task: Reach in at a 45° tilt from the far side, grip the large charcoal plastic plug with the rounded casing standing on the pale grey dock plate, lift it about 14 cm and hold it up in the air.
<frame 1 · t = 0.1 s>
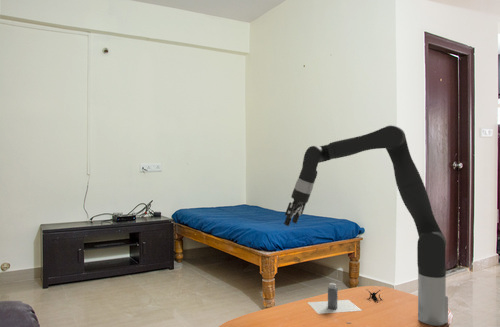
hand: (290, 223, 169), 31 cm above the table, tool tilted 20°, fingers open, 8 cm apart
dock plate: (333, 309, 152), on the table
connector: (332, 307, 151), point 1 cm above the table, touching dock plate
creature: (375, 303, 160), on the table
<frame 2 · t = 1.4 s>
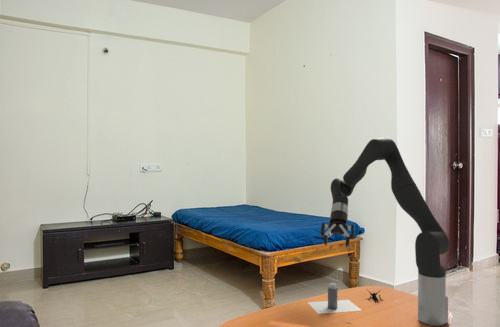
hand: (336, 245, 162), 23 cm above the table, tool tilted 45°, fingers open, 8 cm apart
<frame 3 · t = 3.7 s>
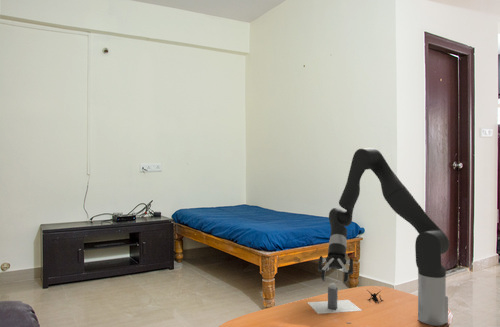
hand: (334, 281, 155), 10 cm above the table, tool tilted 45°, fingers open, 8 cm apart
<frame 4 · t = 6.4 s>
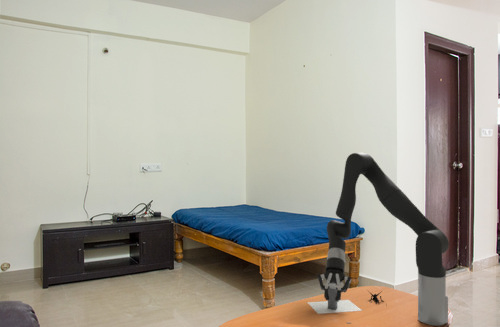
hand: (332, 299, 149), 5 cm above the table, tool tilted 45°, fingers closed on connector, 3 cm apart
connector: (332, 307, 151), point 1 cm above the table, touching dock plate, gripper
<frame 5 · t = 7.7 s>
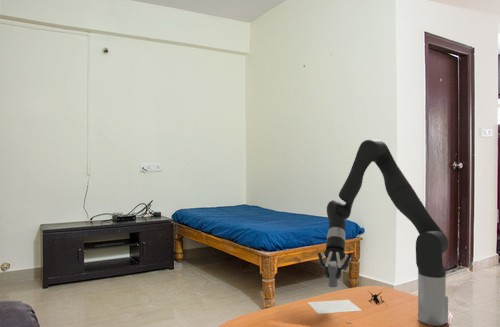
hand: (332, 277, 149), 14 cm above the table, tool tilted 45°, fingers closed on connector, 3 cm apart
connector: (333, 285, 151), point 10 cm above the table, touching gripper
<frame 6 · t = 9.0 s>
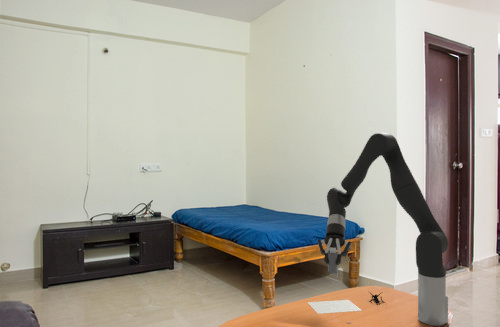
hand: (332, 263, 149), 19 cm above the table, tool tilted 45°, fingers closed on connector, 3 cm apart
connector: (332, 271, 151), point 15 cm above the table, touching gripper
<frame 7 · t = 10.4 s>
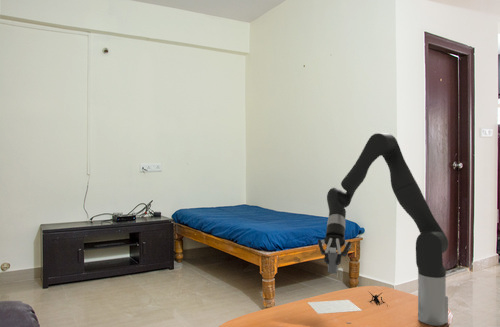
hand: (332, 263, 149), 19 cm above the table, tool tilted 45°, fingers closed on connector, 3 cm apart
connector: (332, 271, 151), point 15 cm above the table, touching gripper
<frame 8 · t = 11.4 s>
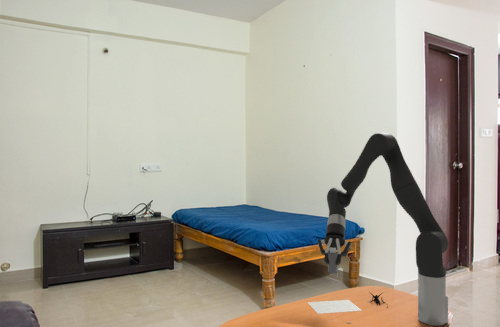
hand: (332, 263, 149), 19 cm above the table, tool tilted 45°, fingers closed on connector, 3 cm apart
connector: (332, 271, 151), point 15 cm above the table, touching gripper
at the end: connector point 15.3 cm above the table; the gripper is holding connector; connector touching gripper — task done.
